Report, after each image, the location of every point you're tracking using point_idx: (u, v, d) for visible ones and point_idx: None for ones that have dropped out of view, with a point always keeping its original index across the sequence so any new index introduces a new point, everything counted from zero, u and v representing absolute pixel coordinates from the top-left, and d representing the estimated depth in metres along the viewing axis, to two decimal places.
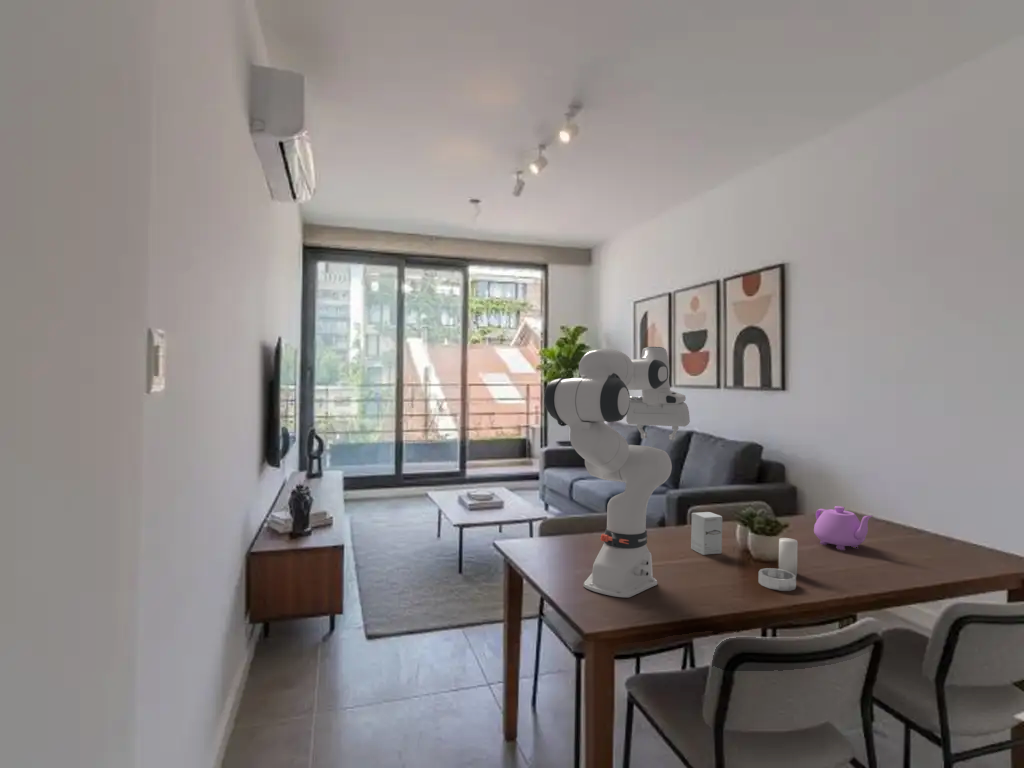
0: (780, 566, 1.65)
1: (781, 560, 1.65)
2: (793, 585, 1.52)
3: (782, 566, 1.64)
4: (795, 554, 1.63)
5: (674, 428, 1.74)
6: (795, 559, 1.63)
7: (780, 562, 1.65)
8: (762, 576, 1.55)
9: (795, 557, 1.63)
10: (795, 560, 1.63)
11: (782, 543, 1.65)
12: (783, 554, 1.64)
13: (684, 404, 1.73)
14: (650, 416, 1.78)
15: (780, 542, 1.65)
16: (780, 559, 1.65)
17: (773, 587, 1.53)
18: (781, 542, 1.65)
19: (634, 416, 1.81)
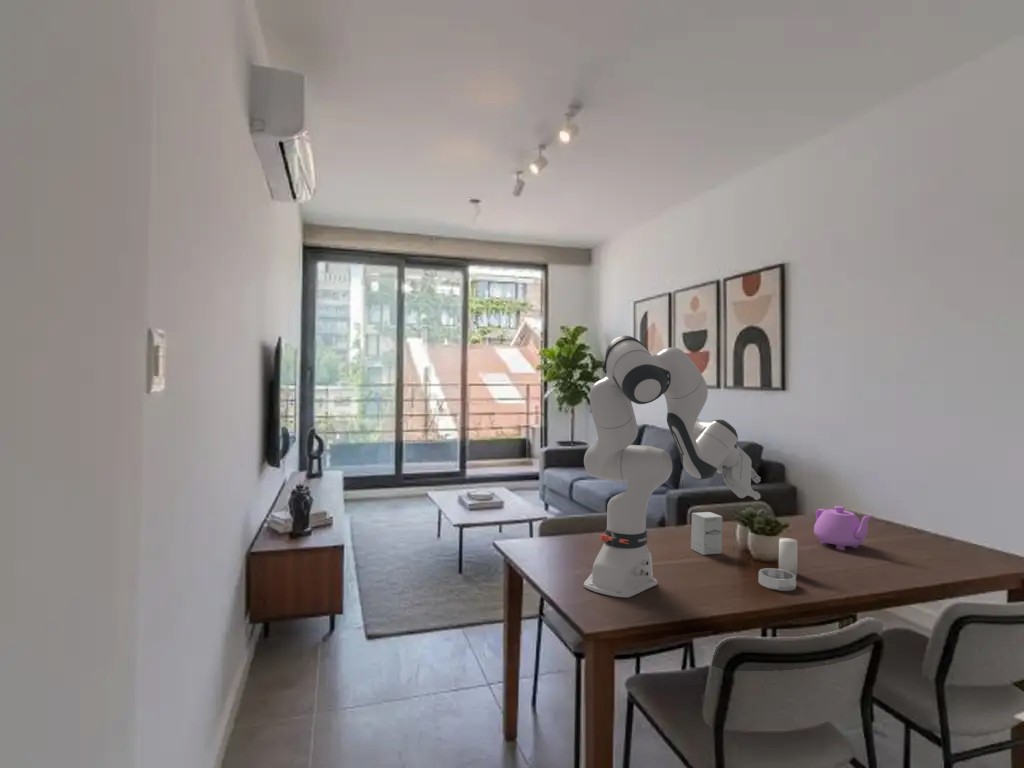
0: (780, 566, 1.65)
1: (781, 560, 1.65)
2: (793, 585, 1.52)
3: (782, 566, 1.64)
4: (795, 554, 1.63)
5: (752, 469, 1.72)
6: (795, 559, 1.63)
7: (780, 562, 1.65)
8: (762, 576, 1.55)
9: (795, 557, 1.63)
10: (795, 560, 1.63)
11: (782, 543, 1.65)
12: (783, 554, 1.64)
13: None
14: (744, 472, 1.66)
15: (780, 542, 1.65)
16: (780, 559, 1.65)
17: (773, 587, 1.53)
18: (781, 542, 1.65)
19: (744, 481, 1.61)
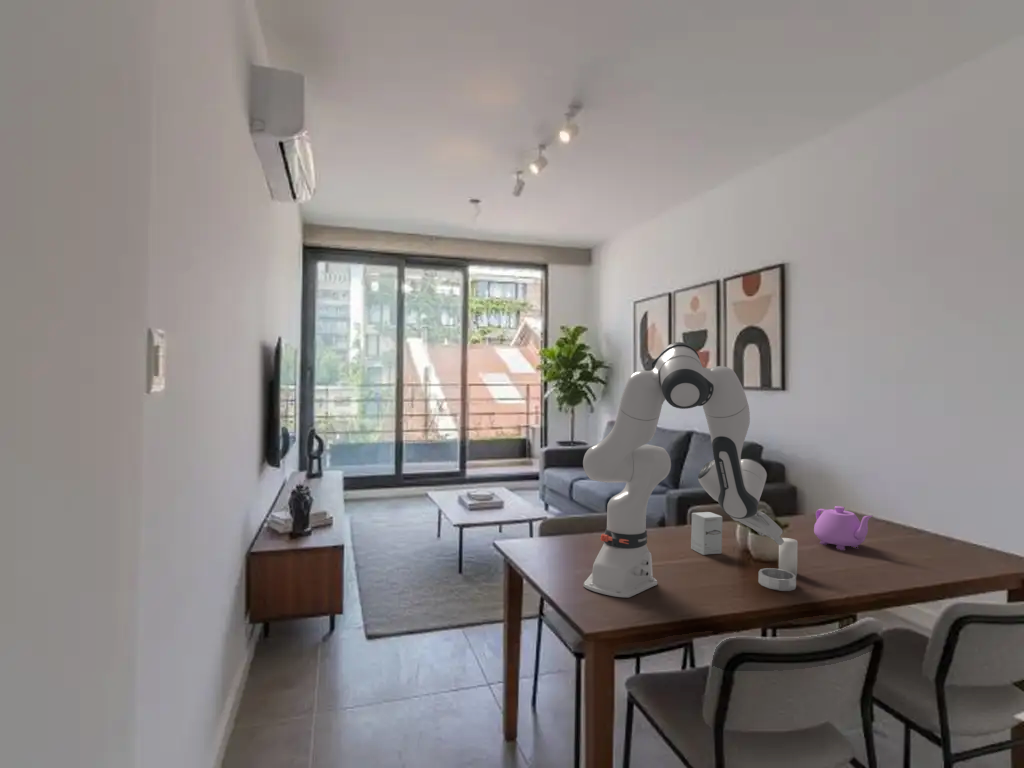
0: (780, 566, 1.65)
1: (781, 560, 1.65)
2: (793, 585, 1.52)
3: (782, 566, 1.64)
4: (795, 554, 1.63)
5: None
6: (795, 559, 1.63)
7: (780, 562, 1.65)
8: (762, 576, 1.55)
9: (795, 557, 1.63)
10: (795, 560, 1.63)
11: None
12: (783, 554, 1.64)
13: None
14: None
15: None
16: (780, 559, 1.65)
17: (773, 587, 1.53)
18: None
19: None
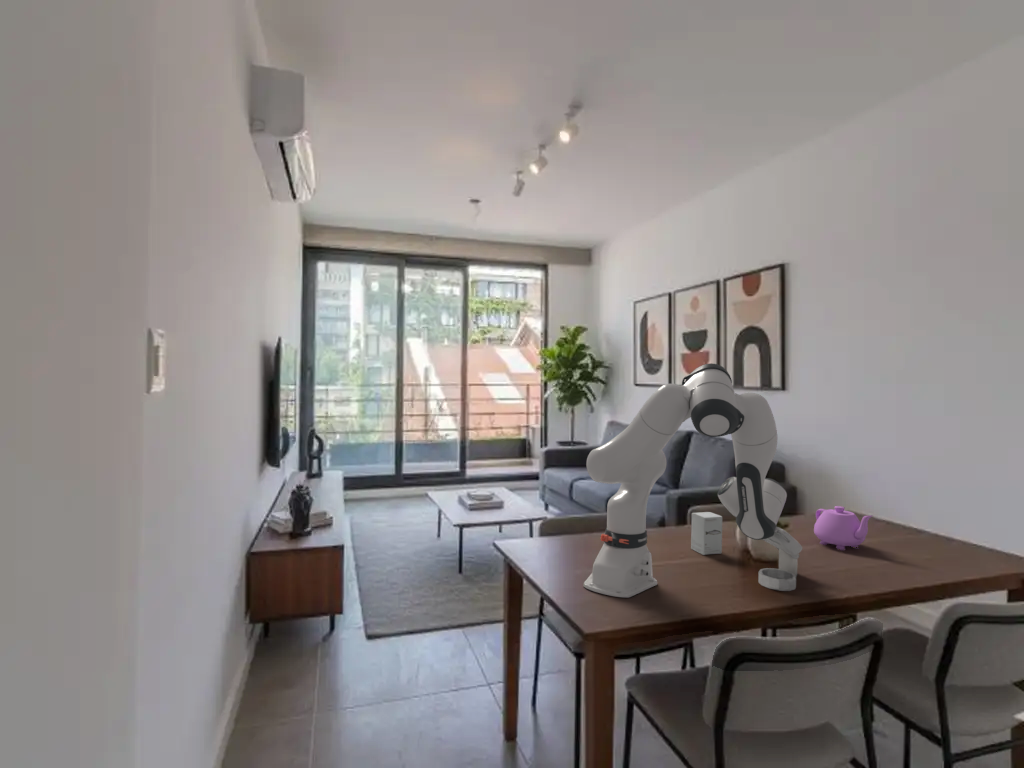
0: (780, 566, 1.65)
1: (781, 560, 1.65)
2: (793, 585, 1.52)
3: (782, 566, 1.64)
4: None
5: None
6: (795, 559, 1.63)
7: (780, 562, 1.65)
8: (762, 576, 1.55)
9: None
10: (795, 560, 1.63)
11: None
12: (783, 554, 1.64)
13: None
14: None
15: None
16: (780, 559, 1.65)
17: (773, 587, 1.53)
18: None
19: None
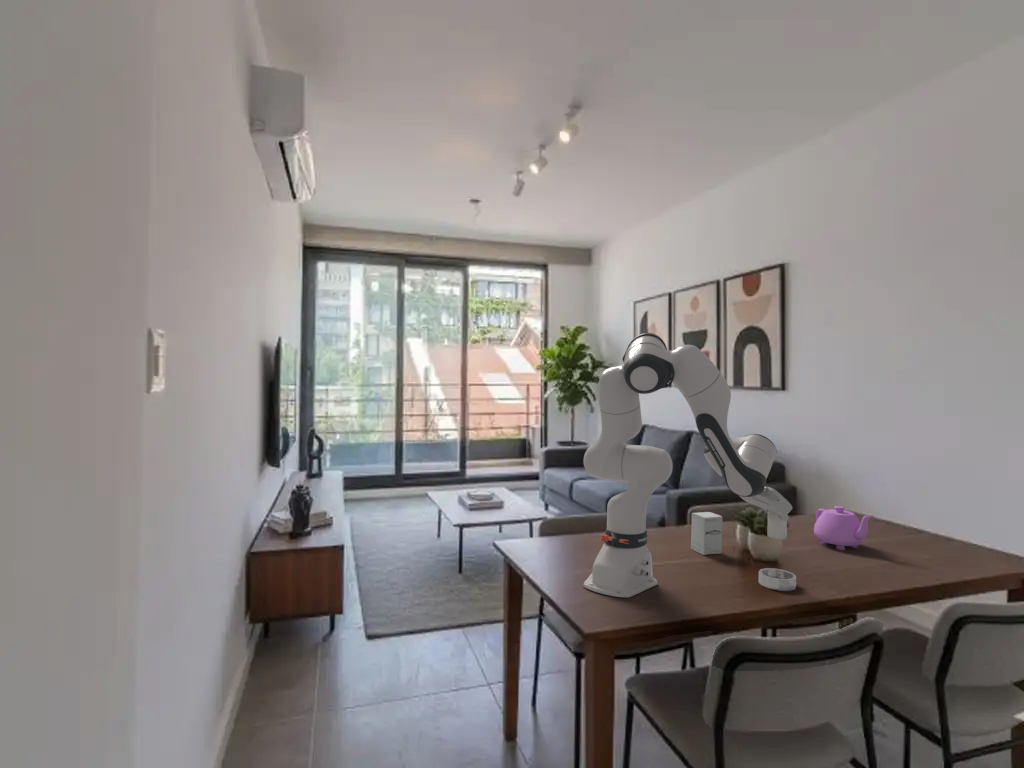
0: (769, 529, 1.57)
1: (770, 522, 1.57)
2: (793, 585, 1.52)
3: (771, 529, 1.56)
4: None
5: None
6: (785, 521, 1.55)
7: (769, 525, 1.57)
8: (762, 576, 1.55)
9: None
10: (785, 522, 1.55)
11: None
12: (772, 517, 1.56)
13: None
14: None
15: None
16: (769, 522, 1.57)
17: (773, 587, 1.53)
18: None
19: None
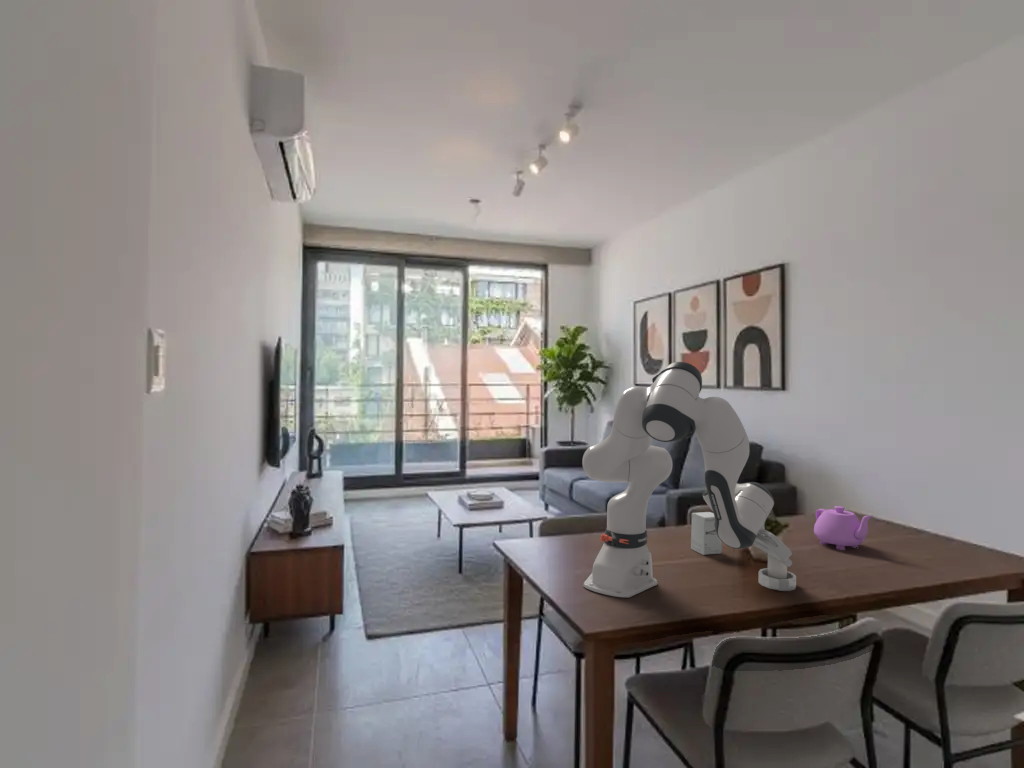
0: None
1: (770, 570, 1.56)
2: (793, 585, 1.52)
3: None
4: None
5: None
6: (785, 569, 1.54)
7: (769, 572, 1.56)
8: (762, 576, 1.55)
9: (785, 567, 1.54)
10: (785, 571, 1.54)
11: None
12: (771, 565, 1.55)
13: None
14: None
15: None
16: (769, 569, 1.56)
17: (773, 587, 1.53)
18: None
19: None
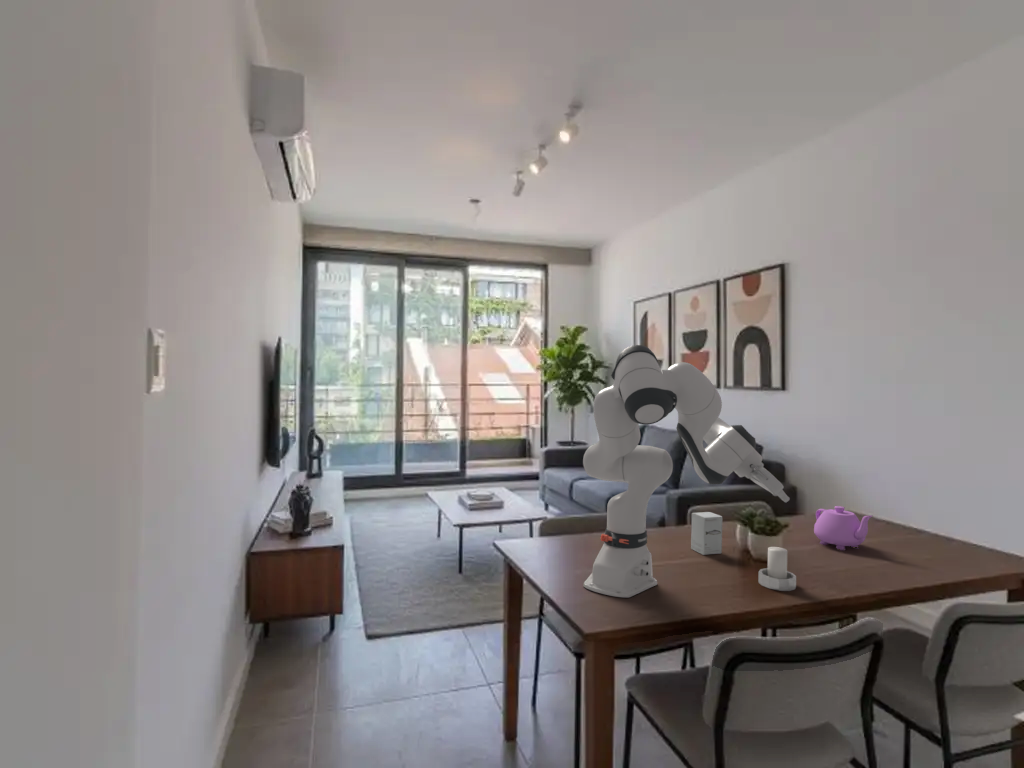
0: None
1: (770, 570, 1.56)
2: (793, 585, 1.52)
3: None
4: (785, 564, 1.54)
5: None
6: (785, 569, 1.54)
7: (769, 572, 1.56)
8: (762, 576, 1.55)
9: (785, 567, 1.54)
10: (785, 571, 1.54)
11: (771, 552, 1.55)
12: (771, 565, 1.55)
13: None
14: None
15: (769, 551, 1.56)
16: (769, 569, 1.56)
17: (773, 587, 1.53)
18: (770, 551, 1.56)
19: None
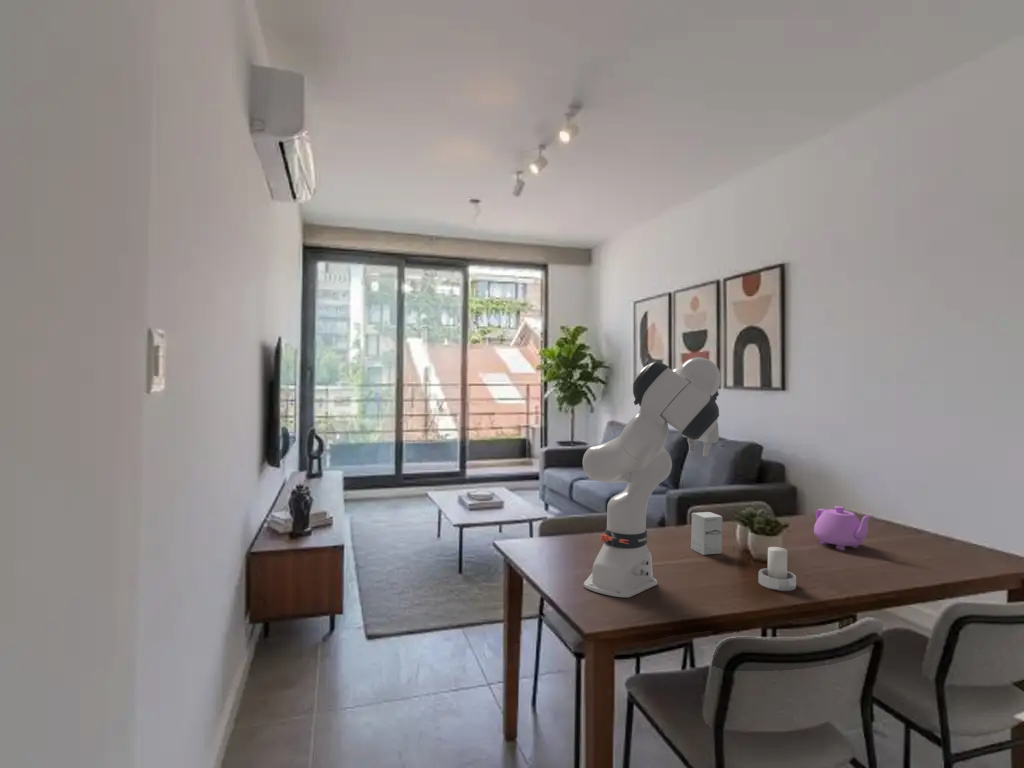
0: None
1: (770, 570, 1.56)
2: (793, 585, 1.52)
3: None
4: (785, 564, 1.54)
5: None
6: (785, 569, 1.54)
7: (769, 572, 1.56)
8: (762, 576, 1.55)
9: (785, 567, 1.54)
10: (785, 571, 1.54)
11: (771, 552, 1.55)
12: (771, 565, 1.55)
13: None
14: None
15: (769, 551, 1.56)
16: (769, 569, 1.56)
17: (773, 587, 1.53)
18: (770, 551, 1.56)
19: None
